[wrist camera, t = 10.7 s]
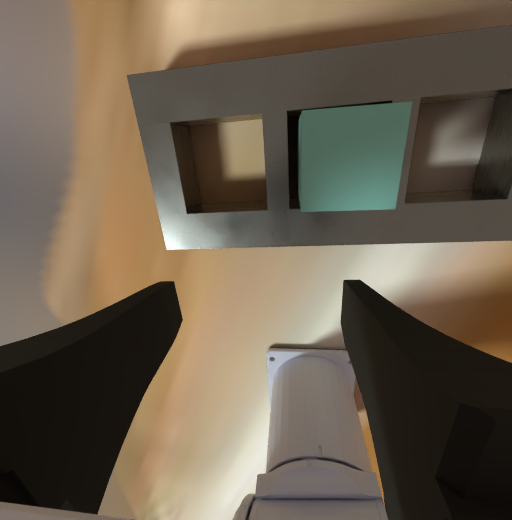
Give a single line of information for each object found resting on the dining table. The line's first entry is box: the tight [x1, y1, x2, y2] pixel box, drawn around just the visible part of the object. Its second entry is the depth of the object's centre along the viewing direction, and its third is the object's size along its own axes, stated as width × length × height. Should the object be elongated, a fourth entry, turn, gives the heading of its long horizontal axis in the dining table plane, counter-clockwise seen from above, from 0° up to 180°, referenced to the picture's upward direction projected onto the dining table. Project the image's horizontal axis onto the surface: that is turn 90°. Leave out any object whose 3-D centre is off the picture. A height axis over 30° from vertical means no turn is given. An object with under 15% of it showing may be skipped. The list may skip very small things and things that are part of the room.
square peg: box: [297, 102, 412, 212], centre depth 14 cm, size 4×4×7 cm
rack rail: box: [127, 25, 512, 250], centre depth 16 cm, size 10×22×3 cm, turn 94°
